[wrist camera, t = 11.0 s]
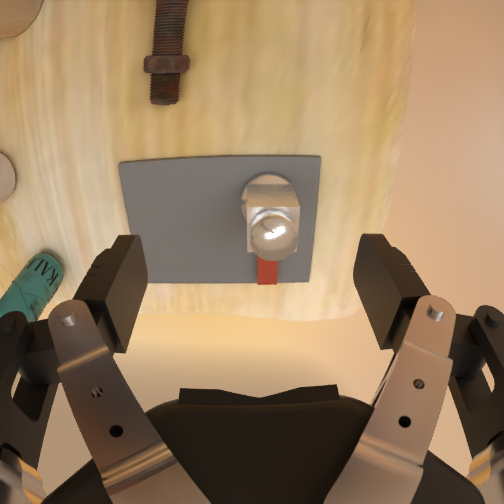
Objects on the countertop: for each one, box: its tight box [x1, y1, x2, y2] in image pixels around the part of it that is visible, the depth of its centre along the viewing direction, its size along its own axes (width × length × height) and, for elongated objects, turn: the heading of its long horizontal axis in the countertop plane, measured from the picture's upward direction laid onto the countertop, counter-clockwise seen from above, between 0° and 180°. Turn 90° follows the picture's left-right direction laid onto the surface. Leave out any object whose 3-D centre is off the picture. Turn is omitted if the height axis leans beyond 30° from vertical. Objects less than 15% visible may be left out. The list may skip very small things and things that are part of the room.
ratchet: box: [241, 172, 291, 285], centre depth 38 cm, size 6×15×5 cm, turn 0°
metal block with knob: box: [247, 184, 300, 261], centre depth 33 cm, size 5×5×8 cm
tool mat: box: [118, 155, 321, 283], centre depth 41 cm, size 24×18×1 cm
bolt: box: [144, 0, 190, 105], centre depth 27 cm, size 6×5×15 cm
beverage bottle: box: [0, 253, 63, 322], centre depth 36 cm, size 6×7×20 cm
